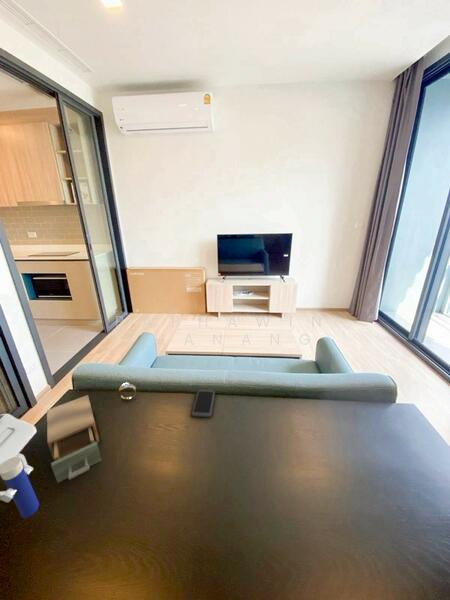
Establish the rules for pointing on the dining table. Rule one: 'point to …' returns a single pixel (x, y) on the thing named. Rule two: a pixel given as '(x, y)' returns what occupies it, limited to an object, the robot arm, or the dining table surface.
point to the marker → (19, 486)
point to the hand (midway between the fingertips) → (21, 485)
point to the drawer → (75, 455)
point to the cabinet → (69, 421)
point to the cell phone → (203, 403)
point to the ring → (125, 385)
